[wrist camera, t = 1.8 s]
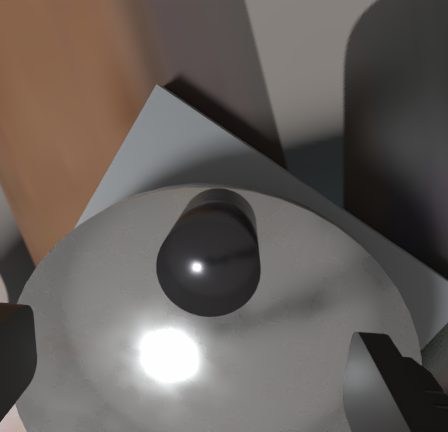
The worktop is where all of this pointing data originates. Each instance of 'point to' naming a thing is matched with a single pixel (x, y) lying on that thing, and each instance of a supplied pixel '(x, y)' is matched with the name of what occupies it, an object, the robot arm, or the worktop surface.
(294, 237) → the handwheel
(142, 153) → the wheel base
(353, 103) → the worktop surface
